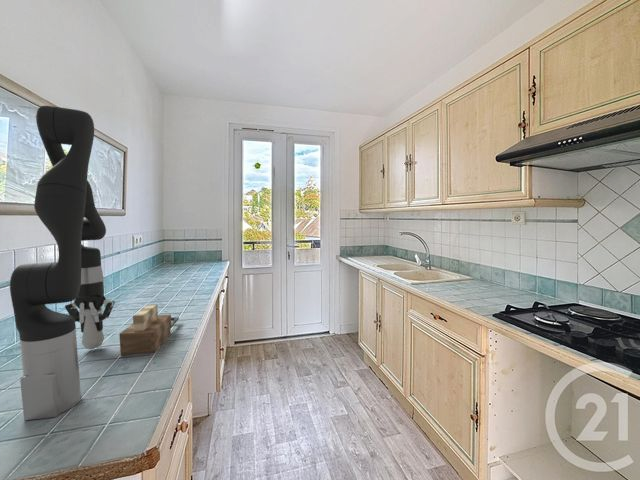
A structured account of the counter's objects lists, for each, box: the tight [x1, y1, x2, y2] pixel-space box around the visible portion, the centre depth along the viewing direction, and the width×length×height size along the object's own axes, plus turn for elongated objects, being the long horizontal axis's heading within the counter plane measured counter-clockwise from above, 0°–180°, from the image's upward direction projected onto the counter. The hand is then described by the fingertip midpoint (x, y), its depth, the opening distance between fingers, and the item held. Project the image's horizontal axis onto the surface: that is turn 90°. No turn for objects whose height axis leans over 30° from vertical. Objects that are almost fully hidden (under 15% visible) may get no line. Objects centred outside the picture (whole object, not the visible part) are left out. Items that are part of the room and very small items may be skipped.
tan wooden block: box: [118, 303, 180, 338], centre depth 104 cm, size 25×10×10 cm, turn 10°
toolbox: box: [119, 319, 172, 356], centre depth 100 cm, size 15×10×6 cm, turn 10°
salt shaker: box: [81, 309, 105, 350], centre depth 95 cm, size 6×6×13 cm
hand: (92, 332), depth 95 cm, fingers closed on salt shaker, 3 cm apart
